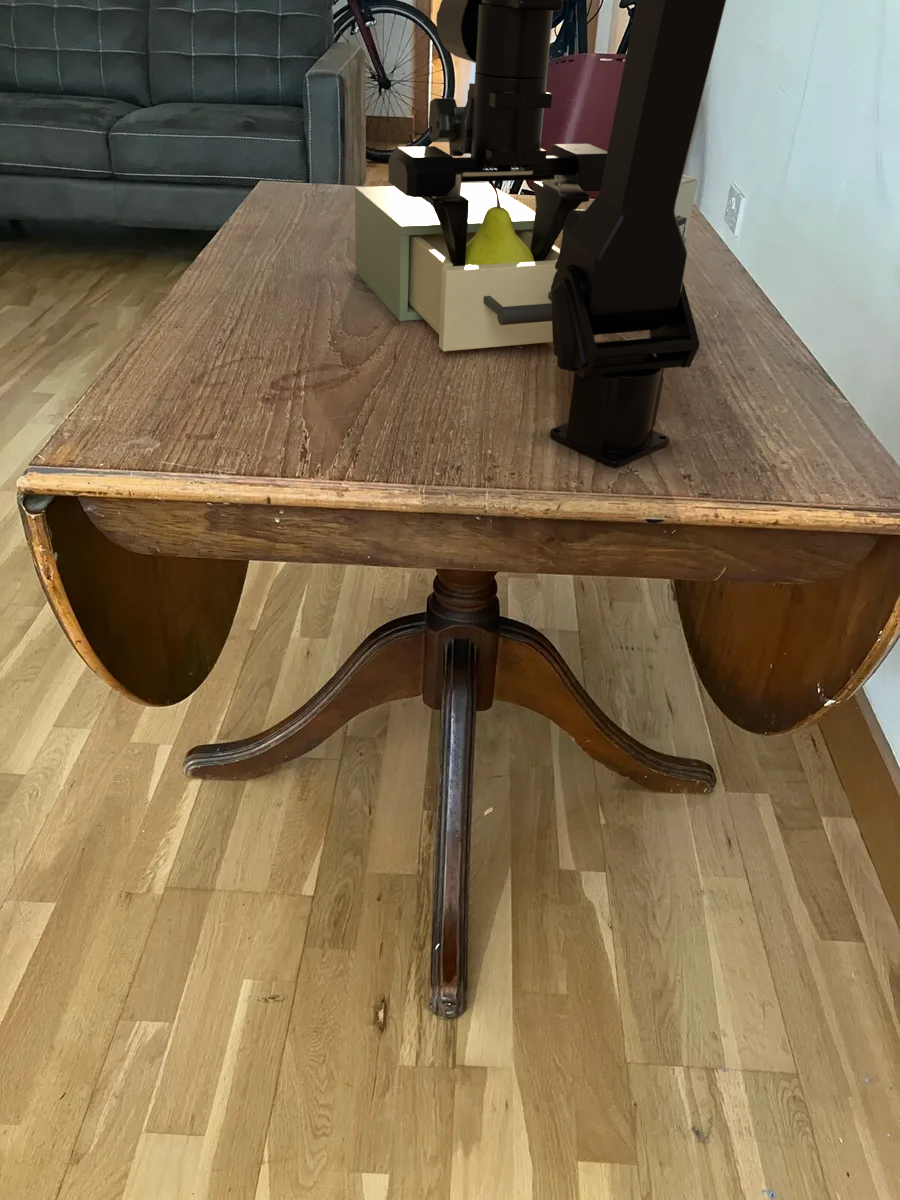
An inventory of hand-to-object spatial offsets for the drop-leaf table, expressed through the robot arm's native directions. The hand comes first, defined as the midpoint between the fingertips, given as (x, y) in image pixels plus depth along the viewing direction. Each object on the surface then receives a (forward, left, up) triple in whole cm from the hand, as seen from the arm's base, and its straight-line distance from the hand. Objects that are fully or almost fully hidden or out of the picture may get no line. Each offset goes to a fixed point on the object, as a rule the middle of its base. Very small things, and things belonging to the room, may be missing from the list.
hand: (496, 273), depth 84 cm
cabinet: (+5, +12, -6) cm, 14 cm away
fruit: (0, 0, -4) cm, 4 cm away
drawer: (0, 0, -5) cm, 5 cm away
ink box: (+21, +1, -6) cm, 22 cm away
